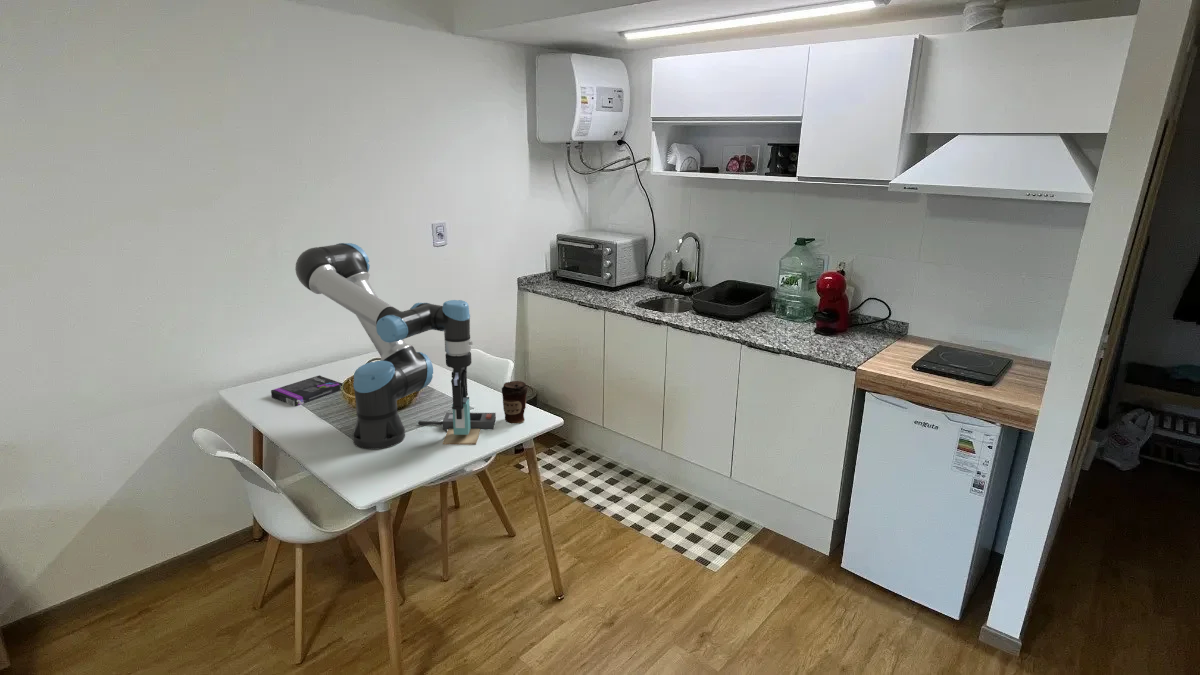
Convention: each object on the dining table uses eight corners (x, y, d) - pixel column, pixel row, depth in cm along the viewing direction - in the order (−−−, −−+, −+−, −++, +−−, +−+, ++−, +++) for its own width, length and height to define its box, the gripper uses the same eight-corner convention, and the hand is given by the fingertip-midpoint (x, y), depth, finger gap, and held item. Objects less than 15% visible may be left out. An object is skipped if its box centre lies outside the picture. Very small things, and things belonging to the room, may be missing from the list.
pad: (442, 444, 190) (442, 442, 190) (448, 430, 200) (448, 428, 199) (475, 444, 191) (475, 442, 190) (480, 430, 200) (480, 428, 200)
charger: (453, 434, 192) (452, 402, 189) (456, 428, 196) (454, 397, 193) (468, 434, 192) (466, 402, 189) (470, 428, 197) (469, 397, 194)
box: (295, 409, 215) (344, 390, 231) (294, 399, 214) (343, 382, 230) (271, 399, 222) (320, 382, 238) (270, 390, 221) (319, 373, 237)
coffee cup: (522, 427, 203) (522, 390, 199) (498, 424, 204) (497, 387, 201) (530, 416, 211) (530, 380, 207) (507, 414, 213) (506, 378, 209)
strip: (415, 429, 200) (414, 419, 199) (420, 420, 206) (419, 410, 205) (493, 429, 201) (492, 419, 200) (495, 420, 207) (495, 411, 206)
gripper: (466, 361, 179) (469, 436, 186) (475, 343, 196) (478, 412, 202) (439, 361, 178) (443, 436, 185) (450, 343, 195) (454, 412, 202)
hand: (461, 423), depth 194 cm, fingers closed on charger, 4 cm apart
